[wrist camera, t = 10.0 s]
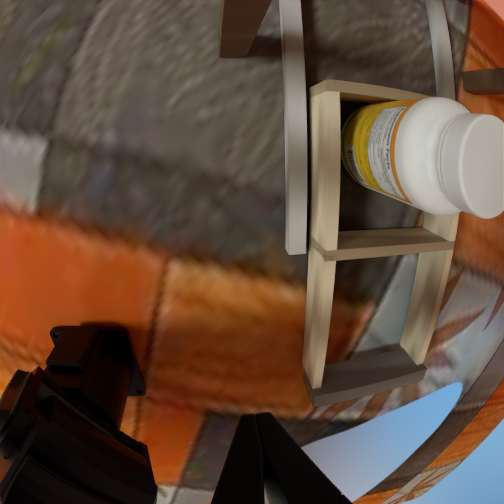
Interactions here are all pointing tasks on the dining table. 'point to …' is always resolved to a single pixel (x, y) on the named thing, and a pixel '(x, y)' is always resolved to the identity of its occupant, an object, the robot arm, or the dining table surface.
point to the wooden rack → (364, 246)
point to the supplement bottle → (428, 155)
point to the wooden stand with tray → (295, 117)
